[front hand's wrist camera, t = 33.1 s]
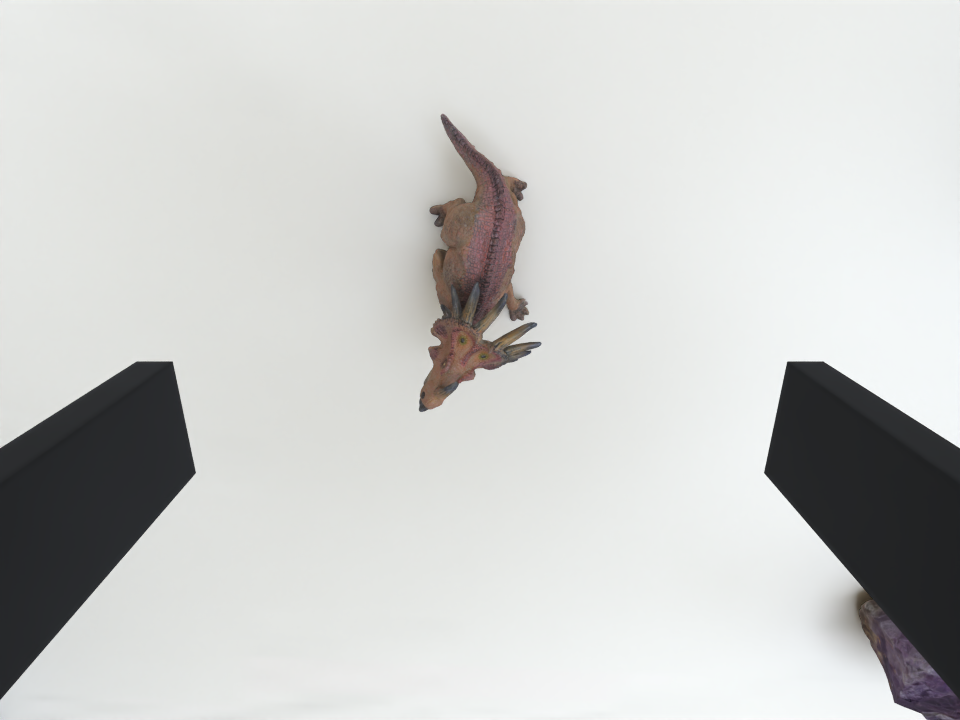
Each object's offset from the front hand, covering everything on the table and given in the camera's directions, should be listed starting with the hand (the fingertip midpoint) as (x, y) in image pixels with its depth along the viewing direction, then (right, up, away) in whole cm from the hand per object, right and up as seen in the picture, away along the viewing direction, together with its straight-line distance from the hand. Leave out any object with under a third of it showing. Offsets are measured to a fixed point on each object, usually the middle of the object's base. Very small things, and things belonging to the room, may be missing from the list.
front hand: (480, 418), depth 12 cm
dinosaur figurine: (0, +8, +20) cm, 22 cm away
